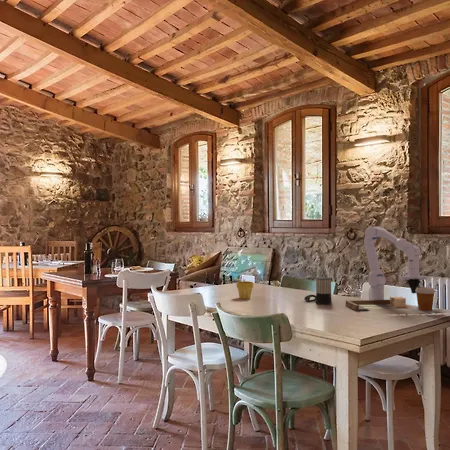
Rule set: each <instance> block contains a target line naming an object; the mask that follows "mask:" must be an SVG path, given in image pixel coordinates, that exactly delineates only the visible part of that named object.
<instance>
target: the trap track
mask: <svg viewBox="0 0 450 450" xmlns="http://www.w3.org/2000/svg"><path fill="white" fill-rule="evenodd" d="M345 307H347V308H349V309H351V310H353V311H354V312H371V310H386V309H388V310H389V309H390V310H391V309H392V310H393V309H415V307H413V306H411V305H408V304H406V307H394V306H391V305H390V299H384V300H369V299H356V300H345Z"/></svg>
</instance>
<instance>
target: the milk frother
mask: <svg viewBox="0 0 450 450" xmlns="http://www.w3.org/2000/svg"><path fill="white" fill-rule="evenodd" d="M315 286H316V287H315V294H316V295H315V294H308V295H305V296H304V301H305V302H311V303H313V302H315V304H317V305H324V306H325V305H326V306H327V305H332V303H333V301H332V300H333V299H332V277H327V276H317V277H315ZM311 298H314V299H311Z"/></svg>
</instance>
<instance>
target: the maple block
mask: <svg viewBox="0 0 450 450" xmlns="http://www.w3.org/2000/svg"><path fill="white" fill-rule="evenodd" d="M389 300H390V305H391V306H394V307H406V305H407V299H406V297H403V296H389Z"/></svg>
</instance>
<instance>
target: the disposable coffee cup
mask: <svg viewBox="0 0 450 450" xmlns="http://www.w3.org/2000/svg"><path fill="white" fill-rule="evenodd" d="M415 291H416V293H415V294H416V300H417V302H416V303H417V308H418V310H419V311H422V312H423V311H424V312H429V311H430V312H432V311H433V307H434V298H435V294H436V290H435V288H433V287H428V286H427V287H425V286H423V287H420V286H418V287H417V288H416V290H415Z"/></svg>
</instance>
